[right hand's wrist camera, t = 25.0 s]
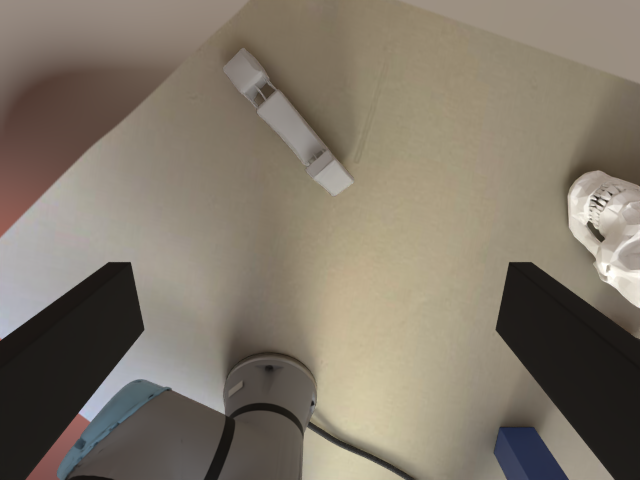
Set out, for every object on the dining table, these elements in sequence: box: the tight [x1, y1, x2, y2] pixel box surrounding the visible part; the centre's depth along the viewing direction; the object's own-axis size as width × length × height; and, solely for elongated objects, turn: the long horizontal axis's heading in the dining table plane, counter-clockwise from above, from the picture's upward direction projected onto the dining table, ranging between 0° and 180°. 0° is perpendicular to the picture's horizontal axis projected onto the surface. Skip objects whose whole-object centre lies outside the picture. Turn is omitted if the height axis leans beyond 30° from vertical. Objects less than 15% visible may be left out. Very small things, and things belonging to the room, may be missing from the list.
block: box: [494, 427, 569, 480], centre depth 59 cm, size 6×6×11 cm
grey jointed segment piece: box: [223, 48, 354, 196], centre depth 42 cm, size 20×4×7 cm, turn 41°
